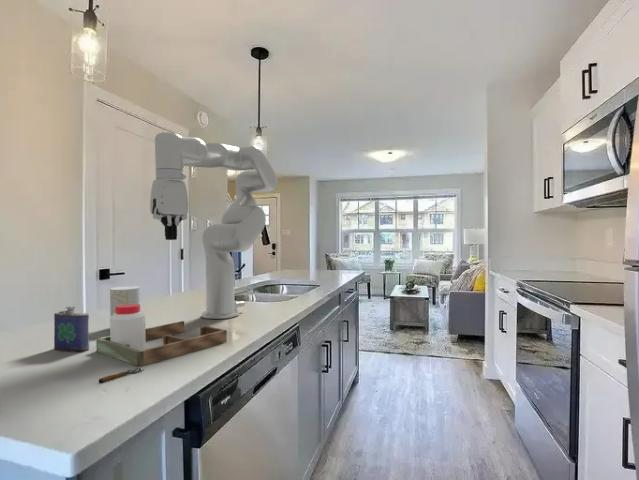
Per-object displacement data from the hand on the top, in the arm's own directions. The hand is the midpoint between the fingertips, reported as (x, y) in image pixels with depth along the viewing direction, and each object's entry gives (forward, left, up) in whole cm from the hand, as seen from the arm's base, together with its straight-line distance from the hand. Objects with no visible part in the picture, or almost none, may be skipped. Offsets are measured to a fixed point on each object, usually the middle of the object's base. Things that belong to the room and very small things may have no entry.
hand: (171, 239), depth 116 cm
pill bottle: (+18, +9, -27) cm, 34 cm away
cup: (+6, -15, -27) cm, 31 cm away
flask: (+26, -3, -27) cm, 37 cm away
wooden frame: (+11, +13, -27) cm, 32 cm away
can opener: (+28, +26, -27) cm, 47 cm away
